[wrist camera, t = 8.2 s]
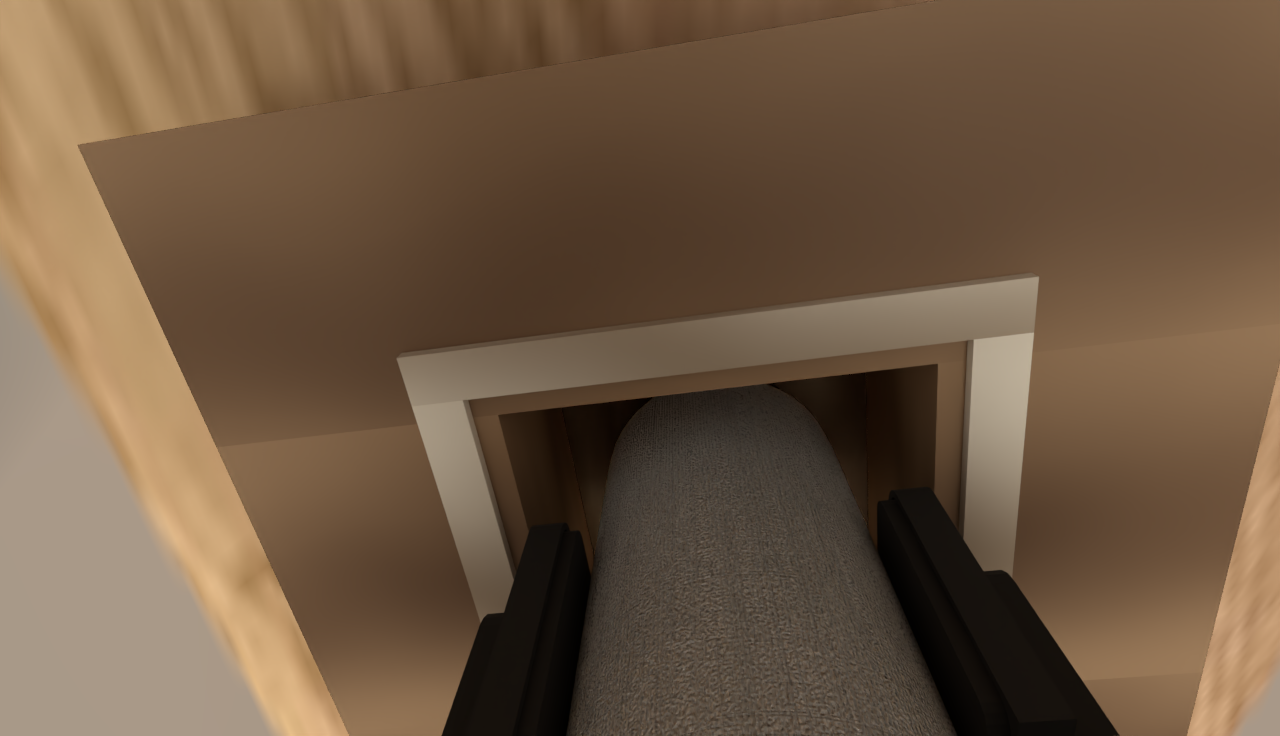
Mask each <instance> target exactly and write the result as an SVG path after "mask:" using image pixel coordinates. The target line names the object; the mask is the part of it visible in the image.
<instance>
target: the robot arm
mask: <svg viewBox="0 0 1280 736" xmlns="http://www.w3.org/2000/svg"><path fill="white" fill-rule="evenodd" d="M877 551H878V553H879V556H880V558H881V560H882V563H883V565H884V567H885V569H886V572H887V574H888V576H889V579H890V581H891V583H892V586H893V588H894V590H895V592H896V595H897V597H898V599H899V602H900V604H901V606H902V609H903V611H904V613H905V615H906V618H907V620H908V622H909V625H910V627H911V629H912V632H913V634H914V636H915V638H916V641H917V643H918V645H919V648H920V650H921V652H922V655H923V657H924V659H925V661H926V664H927V666H928V668H929V671H930V673H931V675H932V678H933V680H934V682H935V684H936V687H937V689H938V691H939V694H940V696H941V698H942V701H943V703H944V705H945V707H946V710H947V712H948V714H949V717H950V719H951V721H952V724H953V726H954V728H955V730H956V733H957V735H958V736H1120V735H1119V734H1118V732H1117V731H1116V729H1115V728H1114V726H1113V725H1112V723H1111V722H1110V720H1109V719H1108V718H1107V716H1106V715H1105V713H1104V712H1103V710H1102V709H1101V707H1100V706H1099V704H1098V703H1097V701H1096V700H1095V698H1094V697H1093V695H1092V694H1091V693H1090V691H1089V690H1088V688H1087V687H1086V685H1085V684H1084V682H1083V681H1082V679H1081V678H1080V676H1079V675H1078V673H1077V672H1076V671H1075V669H1074V668H1073V666H1072V665H1071V663H1070V662H1069V660H1068V659H1067V657H1066V656H1065V654H1064V653H1063V651H1062V650H1061V648H1060V647H1059V646H1058V644H1057V643H1056V641H1055V640H1054V638H1053V637H1052V635H1051V634H1050V632H1049V631H1048V629H1047V628H1046V626H1045V625H1044V623H1043V622H1042V621H1041V619H1040V618H1039V616H1038V615H1037V613H1036V612H1035V610H1034V609H1033V607H1032V606H1031V604H1030V603H1029V601H1028V600H1027V599H1026V597H1025V596H1024V594H1023V593H1022V591H1021V590H1020V588H1019V587H1018V585H1017V584H1016V582H1015V581H1014V580H1013V579H1012V577H1011V576H1010V575H1009V574H1008V573H1007V572H1005V571H1003V570H993V571H983V570H982V568H981V566H980V565H979V563H978V562H977V560H976V558H975V557H974V555H973V554H972V552H971V551H970V549H969V547H968V546H967V544H966V543H965V541H964V539H963V538H962V536H961V535H960V533H959V532H958V530H957V528H956V527H955V525H954V524H953V522H952V520H951V519H950V517H949V516H948V514H947V513H946V511H945V509H944V508H943V506H942V505H941V503H940V501H939V500H938V498H937V497H936V495H935V494H934V492H933V491H932V489H931V488H929V487H918V488H908V489H898V490H891V491H890V493H889V499H888V500H884V501H879V502H878V504H877ZM590 581H591V574H590V569H589V565H588V560H587V556H586V552H585V547H584V543H583V538H582V535H581V532H580V531H579V530H576V531H570V529H569V526H568V525H567V523H565V522H564V523H554V524H544V525H534V526H532V527H531V528H530V530H529V533H528V536H527V539H526V543H525V546H524V549H523V552H522V556H521V559H520V562H519V565H518V569H517V572H516V575H515V578H514V582H513V585H512V588H511V591H510V594H509V598H508V601H507V604H506V607H505V611H504V613H493V614H487V615H486V616H485V617H484V618H483V620H482V622H481V624H480V626H479V629H478V632H477V634H476V637H475V640H474V643H473V646H472V649H471V652H470V655H469V657H468V660H467V663H466V666H465V669H464V672H463V675H462V678H461V681H460V683H459V686H458V689H457V692H456V695H455V698H454V701H453V704H452V707H451V709H450V712H449V715H448V718H447V721H446V724H445V727H444V730H443V733H442V735H441V736H566V732H567V726H568V720H569V713H570V707H571V701H572V694H573V688H574V682H575V676H576V669H577V663H578V657H579V650H580V644H581V638H582V632H583V625H584V619H585V613H586V606H587V600H588V594H589V587H590Z"/></svg>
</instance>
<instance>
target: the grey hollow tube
mask: <svg viewBox="0 0 1280 736" xmlns="http://www.w3.org/2000/svg"><path fill="white" fill-rule="evenodd" d="M566 736H958V735H957V733H956V730H955V728H954V726H953V724H952V721H951V719H950V717H949V714H948V712H947V710H946V707H945V705H944V703H943V701H942V698H941V696H940V694H939V691H938V689H937V687H936V684H935V682H934V680H933V678H932V675H931V673H930V671H929V668H928V666H927V664H926V661H925V659H924V657H923V655H922V652H921V650H920V648H919V645H918V643H917V641H916V638H915V636H914V634H913V632H912V629H911V627H910V625H909V622H908V620H907V618H906V615H905V613H904V611H903V609H902V606H901V604H900V602H899V599H898V597H897V595H896V592H895V590H894V588H893V586H892V583H891V581H890V579H889V576H888V574H887V572H886V569H885V567H884V565H883V563H882V560H881V558H880V556H879V553H878V551H877V549H876V546H875V544H874V542H873V540H872V537H871V535H870V533H869V530H868V528H867V526H866V523H865V521H864V519H863V517H862V514H861V512H860V510H859V507H858V505H857V503H856V500H855V498H854V496H853V494H852V491H851V489H850V487H849V484H848V482H847V480H846V477H845V475H844V473H843V471H842V468H841V466H840V464H839V461H838V459H837V457H836V454H835V452H834V450H833V448H832V446H831V444H830V442H829V440H828V439H827V437H826V435H825V433H824V431H823V430H822V428H821V426H820V425H819V423H818V422H817V420H816V419H815V418H814V416H813V415H812V414H811V413H810V412H809V411H808V410H807V409H806V408H805V407H804V406H803V405H802V404H801V403H800V402H798V401H797V400H796V399H794V398H793V397H791V396H790V395H788V394H787V393H785V392H783V391H781V390H779V389H777V388H775V387H772V386H770V385H767V384H759V385H750V386H741V387H733V388H724V389H715V390H707V391H698V392H690V393H681V394H672V395H664V396H655V397H654V398H653V399H651V400H650V401H648V402H647V403H646V404H645V405H644V406H642V407H641V408H640V409H639V410H638V411H637V412H636V413H635V414H634V415H633V416H632V417H631V419H630V420H629V421H628V423H627V424H626V425H625V427H624V429H623V430H622V432H621V434H620V436H619V438H618V440H617V442H616V445H615V447H614V451H613V454H612V458H611V462H610V466H609V470H608V475H607V481H606V487H605V493H604V499H603V506H602V512H601V518H600V525H599V531H598V537H597V543H596V550H595V556H594V562H593V569H592V575H591V581H590V587H589V594H588V600H587V606H586V613H585V619H584V625H583V632H582V638H581V644H580V650H579V657H578V663H577V669H576V676H575V682H574V688H573V694H572V701H571V707H570V713H569V720H568V726H567V732H566Z"/></svg>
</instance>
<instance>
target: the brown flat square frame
mask: <svg viewBox="0 0 1280 736" xmlns="http://www.w3.org/2000/svg"><path fill="white" fill-rule="evenodd" d="M78 147H79V149H80V152H81V154H82V156H83V158H84V160H85V162H86V165H87V167H88V169H89V171H90V173H91V175H92V178H93V180H94V182H95V184H96V186H97V188H98V191H99V193H100V195H101V197H102V199H103V201H104V204H105V206H106V208H107V210H108V212H109V214H110V217H111V219H112V221H113V223H114V225H115V228H116V230H117V232H118V234H119V236H120V238H121V241H122V243H123V245H124V247H125V249H126V251H127V254H128V256H129V258H130V260H131V262H132V264H133V267H134V269H135V271H136V273H137V275H138V277H139V280H140V282H141V284H142V286H143V288H144V291H145V293H146V295H147V297H148V299H149V301H150V304H151V306H152V308H153V310H154V312H155V314H156V317H157V319H158V321H159V323H160V325H161V327H162V330H163V332H164V334H165V336H166V338H167V340H168V343H169V345H170V347H171V349H172V351H173V354H174V356H175V358H176V360H177V362H178V364H179V367H180V369H181V371H182V373H183V375H184V377H185V380H186V382H187V384H188V386H189V388H190V390H191V393H192V395H193V397H194V399H195V401H196V403H197V406H198V408H199V410H200V412H201V414H202V417H203V419H204V421H205V423H206V425H207V427H208V430H209V432H210V434H211V436H212V438H213V440H214V443H215V445H216V447H217V449H218V451H219V453H220V456H221V458H222V460H223V462H224V464H225V466H226V469H227V471H228V473H229V475H230V477H231V480H232V482H233V484H234V486H235V488H236V490H237V493H238V495H239V497H240V499H241V501H242V503H243V506H244V508H245V510H246V512H247V514H248V516H249V519H250V521H251V523H252V525H253V527H254V529H255V532H256V534H257V536H258V538H259V540H260V543H261V545H262V547H263V549H264V551H265V553H266V556H267V558H268V560H269V562H270V564H271V566H272V569H273V571H274V573H275V575H276V577H277V579H278V582H279V584H280V586H281V588H282V590H283V592H284V595H285V597H286V599H287V601H288V603H289V606H290V608H291V610H292V612H293V614H294V616H295V619H296V621H297V623H298V625H299V627H300V629H301V632H302V634H303V636H304V638H305V640H306V642H307V645H308V647H309V649H310V651H311V653H312V655H313V658H314V660H315V662H316V664H317V666H318V669H319V671H320V673H321V675H322V677H323V679H324V682H325V684H326V686H327V688H328V690H329V692H330V695H331V697H332V699H333V701H334V703H335V705H336V708H337V710H338V712H339V714H340V716H341V718H342V721H343V723H344V725H345V727H346V729H347V732H348V734H349V736H441V735H442V733H443V730H444V727H445V724H446V721H447V718H448V715H449V712H450V709H451V707H452V704H453V701H454V698H455V695H456V692H457V689H458V686H459V683H460V681H461V678H462V675H463V672H464V669H465V666H466V663H467V660H468V657H469V655H470V652H471V649H472V646H473V643H474V640H475V637H476V634H477V632H478V629H479V626H480V624H481V622H482V620H483V618H484V617H485V616H486V615H487V614H493V613H504V611H505V607H506V604H507V601H508V598H509V594H510V591H511V588H512V585H513V582H514V578H515V575H516V572H517V569H518V565H519V562H520V559H521V556H522V552H523V549H524V546H525V543H526V539H527V536H528V533H529V530H530V528H531V527H532V526H534V525H544V524H554V523H564V522H565V523H567V525H568V526H569V529H570V531H576V530H579V531H580V532H581V535H582V538H583V543H584V547H585V552H586V556H587V560H588V565H589V569H590V574H591V575H592V569H593V562H594V554H593V550H592V545H591V541H590V536H589V532H588V527H587V523H586V518H585V513H584V509H583V504H582V500H581V495H580V491H579V486H578V482H577V477H576V472H575V468H574V463H573V459H572V454H571V450H570V445H569V441H568V436H567V431H566V427H565V422H564V418H563V413H562V409H561V407H569V406H578V405H586V404H595V403H604V402H612V401H621V400H629V399H638V398H647V397H655V396H664V395H672V394H681V393H690V392H698V391H707V390H715V389H724V388H733V387H741V386H750V385H759V384H767V383H776V382H784V381H793V380H802V379H810V378H819V377H827V376H836V375H845V374H853V373H862V372H866V418H867V476H868V530H869V533H870V535H871V537H872V540H873V542H874V544H875V546H876V549H877V504H878V502H879V501H884V500H888V499H889V493H890V491H891V490H898V489H908V488H918V487H929V488H931V489H932V491H933V492H934V494H935V495H936V497H937V498H938V500H939V501H940V503H941V505H942V506H943V508H944V509H945V511H946V513H947V514H948V516H949V517H950V519H951V520H952V522H953V524H954V525H955V527H956V528H957V530H958V532H959V533H960V535H961V536H962V538H963V539H964V541H965V543H966V544H967V546H968V547H969V549H970V551H971V552H972V554H973V555H974V557H975V558H976V560H977V562H978V563H979V565H980V566H981V568H982V570H983V571H993V570H1003V571H1005V572H1007V573H1008V574H1009V575H1010V576H1011V577H1012V579H1013V580H1014V581H1015V582H1016V584H1017V585H1018V587H1019V588H1020V590H1021V591H1022V593H1023V594H1024V596H1025V597H1026V599H1027V600H1028V601H1029V603H1030V604H1031V606H1032V607H1033V609H1034V610H1035V612H1036V613H1037V615H1038V616H1039V618H1040V619H1041V621H1042V622H1043V623H1044V625H1045V626H1046V628H1047V629H1048V631H1049V632H1050V634H1051V635H1052V637H1053V638H1054V640H1055V641H1056V643H1057V644H1058V646H1059V647H1060V648H1061V650H1062V651H1063V653H1064V654H1065V656H1066V657H1067V659H1068V660H1069V662H1070V663H1071V665H1072V666H1073V668H1074V669H1075V671H1076V672H1077V673H1078V675H1079V676H1080V678H1081V679H1082V681H1083V682H1084V684H1085V685H1086V687H1087V688H1088V690H1089V691H1090V693H1091V694H1092V695H1093V697H1094V698H1095V700H1096V701H1097V703H1098V704H1099V706H1100V707H1101V709H1102V710H1103V712H1104V713H1105V715H1106V716H1107V718H1108V719H1109V720H1110V722H1111V723H1112V725H1113V726H1114V728H1115V729H1116V731H1117V732H1118V734H1119V735H1120V736H1187V733H1188V729H1189V725H1190V721H1191V717H1192V713H1193V709H1194V705H1195V701H1196V697H1197V693H1198V689H1199V684H1200V680H1201V676H1202V672H1203V668H1204V664H1205V660H1206V656H1207V652H1208V648H1209V644H1210V640H1211V636H1212V632H1213V628H1214V624H1215V620H1216V616H1217V612H1218V608H1219V604H1220V600H1221V596H1222V592H1223V588H1224V584H1225V580H1226V576H1227V572H1228V568H1229V564H1230V560H1231V556H1232V552H1233V548H1234V544H1235V540H1236V536H1237V532H1238V528H1239V524H1240V520H1241V516H1242V512H1243V508H1244V504H1245V500H1246V496H1247V492H1248V488H1249V484H1250V480H1251V476H1252V472H1253V468H1254V464H1255V460H1256V456H1257V452H1258V448H1259V444H1260V440H1261V436H1262V432H1263V428H1264V424H1265V420H1266V416H1267V412H1268V408H1269V404H1270V400H1271V396H1272V392H1273V388H1274V384H1275V380H1276V376H1277V372H1278V368H1279V364H1280V0H936V1H930V2H924V3H918V4H912V5H906V6H900V7H894V8H888V9H882V10H876V11H870V12H864V13H858V14H852V15H846V16H841V17H835V18H829V19H823V20H817V21H811V22H805V23H799V24H793V25H787V26H781V27H775V28H769V29H763V30H757V31H751V32H746V33H740V34H734V35H728V36H722V37H716V38H710V39H704V40H698V41H692V42H686V43H680V44H674V45H668V46H662V47H656V48H650V49H645V50H639V51H633V52H627V53H621V54H615V55H609V56H603V57H597V58H591V59H585V60H579V61H573V62H567V63H561V64H555V65H550V66H544V67H538V68H532V69H526V70H520V71H514V72H508V73H502V74H496V75H490V76H484V77H478V78H472V79H466V80H460V81H455V82H449V83H443V84H437V85H431V86H425V87H419V88H413V89H407V90H401V91H395V92H389V93H383V94H377V95H371V96H365V97H359V98H354V99H348V100H342V101H336V102H330V103H324V104H318V105H312V106H306V107H300V108H294V109H288V110H282V111H276V112H270V113H264V114H259V115H253V116H247V117H241V118H235V119H229V120H223V121H217V122H211V123H205V124H199V125H193V126H187V127H181V128H175V129H169V130H164V131H158V132H152V133H146V134H140V135H134V136H128V137H122V138H116V139H110V140H104V141H98V142H92V143H86V144H80V145H78Z"/></svg>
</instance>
